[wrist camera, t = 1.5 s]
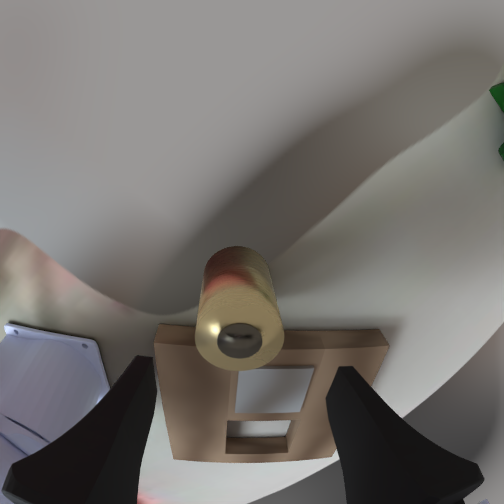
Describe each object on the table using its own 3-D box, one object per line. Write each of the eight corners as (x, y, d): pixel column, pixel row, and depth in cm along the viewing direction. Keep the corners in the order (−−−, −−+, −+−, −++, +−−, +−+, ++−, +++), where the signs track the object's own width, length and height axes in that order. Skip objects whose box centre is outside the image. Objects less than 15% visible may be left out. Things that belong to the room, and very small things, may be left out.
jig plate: (175, 443, 26) (173, 461, 24) (158, 323, 20) (152, 345, 18) (327, 442, 28) (331, 459, 26) (379, 329, 22) (391, 348, 19)
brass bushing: (203, 302, 20) (195, 371, 14) (204, 244, 18) (194, 302, 12) (265, 305, 20) (278, 373, 14) (273, 248, 18) (291, 306, 13)
